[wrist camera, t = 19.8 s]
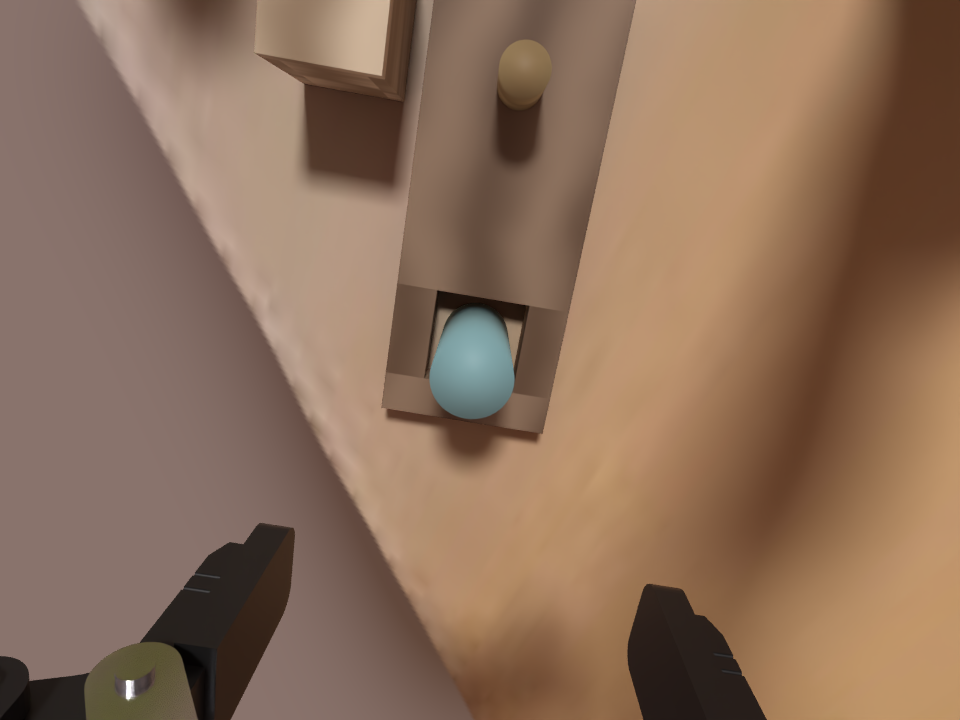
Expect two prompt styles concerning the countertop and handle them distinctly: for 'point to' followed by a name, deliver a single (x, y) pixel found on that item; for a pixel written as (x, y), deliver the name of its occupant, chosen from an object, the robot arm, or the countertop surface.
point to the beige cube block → (339, 43)
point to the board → (504, 181)
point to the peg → (473, 363)
